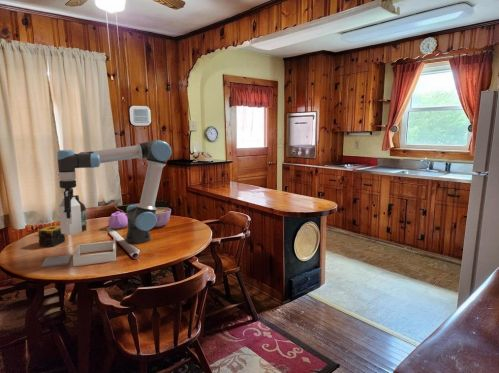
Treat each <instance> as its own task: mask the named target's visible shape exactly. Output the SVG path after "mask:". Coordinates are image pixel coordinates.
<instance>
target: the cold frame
mask: <svg viewBox="0 0 499 373" xmlns="http://www.w3.org/2000/svg"><path fill="white" fill-rule="evenodd" d="M116 238H117V237H116V236H114V237H113V240H109V241H100V242H92V243H82V244H77V246H76V248H75V251H74V252H73V256H72V264H73V267H80V266H86V265H87V266H88V265H93V264H102V263H110V262H116V261H117V239H116ZM111 250H112V251H111ZM104 251H106V252H104ZM96 252H97V253H96ZM98 252H99V253H98ZM87 253H89V254H87ZM90 253H91V254H90ZM83 254H84V255H83Z"/></svg>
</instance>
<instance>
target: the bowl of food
mask: <svg viewBox="0 0 499 373" xmlns="http://www.w3.org/2000/svg"><path fill="white" fill-rule="evenodd" d="M155 208H156V213H155V216H156V219H157V222H156V224H155V226H154V227H153V228H160V227H161V228H162V227H164V226H165V225H167V223H168V222H169V221H170V217H171V212H172V209H171V208H169V207H155Z"/></svg>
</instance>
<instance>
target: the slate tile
mask: <svg viewBox="0 0 499 373" xmlns="http://www.w3.org/2000/svg"><path fill="white" fill-rule="evenodd" d="M71 259H72V254H64V255H58V256H56V255H55V256H49V257H46V258H45V259H44V260H43V262H42V263H41V266H40V268H42V269H43V268H51V267H57V266H59V267H60V266H67V265H69V264H70V261H71Z"/></svg>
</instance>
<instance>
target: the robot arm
mask: <svg viewBox="0 0 499 373" xmlns="http://www.w3.org/2000/svg"><path fill="white" fill-rule="evenodd" d="M56 153H57V170H58V173H57V176H58V179H59V182H58V183H59V188H60V189H64V191H63V199H64V208H65V210H64V211H63V212H65V215H66V225H68V224H72V211H71V199H72V197H73V196H74V188H76V187H77V180H76V179H77V175H76V169H86V168H87V169H88V168H89V169H90V168H92V169H94V168H99V167H100V165H101V164H104V163H112V162H119V161H126V160H132V159H139V160H142V159H146V160H145V161H146V162H147V169H146V173H145V177H144V178H145V179H144V183H143V187H142V190H141V191H142V192H141V197H140V200H139V203H138V204H137V203H136V204H130V205H128V206H126V216H127V219H128V225H127V232H126V235H125V242H126V241H127V242H126V243H128V244H144V243H146V242H148V241H150V240H151V239H152V238H151V233H150V231H151V229H153V228H155V227H154V226H155V224H156V222H157V219H156V216H155V213H156V208H157V207H156V201H157V195H158V191H159V188H160V187H159V186H160V182H161V177H162V172H163V169H164V167H165V166H166V165H167V162H168V160H169V159H170V158H171V156H172V147H171V145H170V144H169V143H168V142H167V141H164V140H161V139H158V140H154V139H153V140H148V141H145V142H139V143H136V145H129V146H123V147H114V148H107V149H101V150H92V151H86V152H85V151H81V152H78V153H75V151H74V150H73V149H60V150H58V151H57V152H56Z"/></svg>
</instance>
